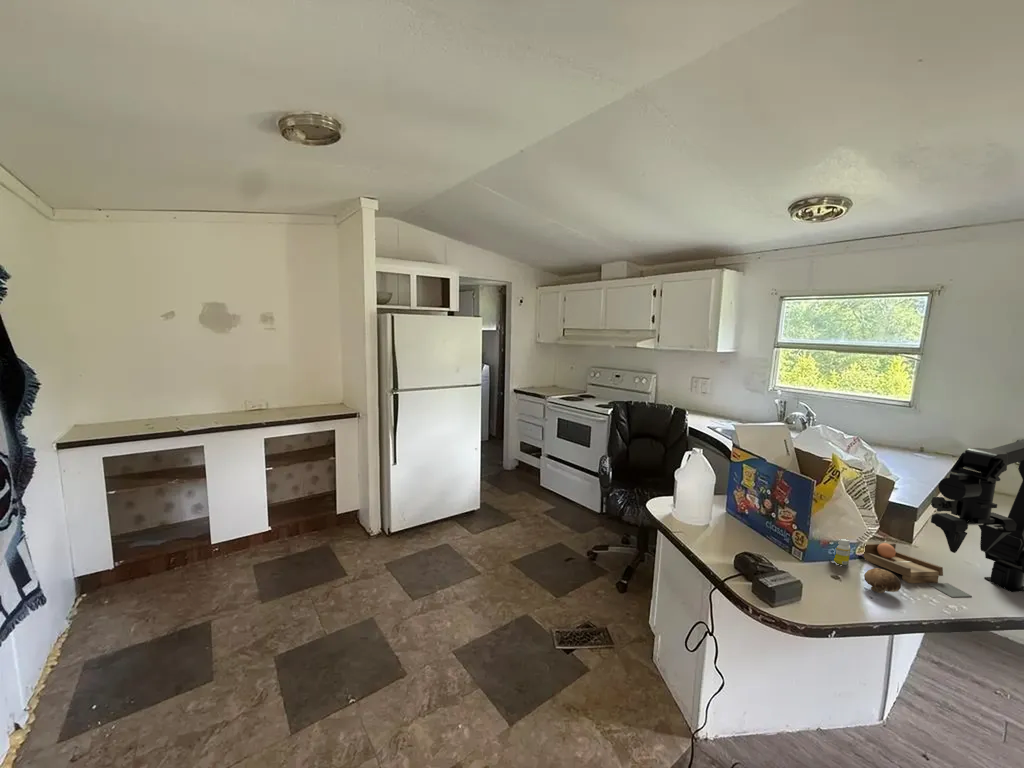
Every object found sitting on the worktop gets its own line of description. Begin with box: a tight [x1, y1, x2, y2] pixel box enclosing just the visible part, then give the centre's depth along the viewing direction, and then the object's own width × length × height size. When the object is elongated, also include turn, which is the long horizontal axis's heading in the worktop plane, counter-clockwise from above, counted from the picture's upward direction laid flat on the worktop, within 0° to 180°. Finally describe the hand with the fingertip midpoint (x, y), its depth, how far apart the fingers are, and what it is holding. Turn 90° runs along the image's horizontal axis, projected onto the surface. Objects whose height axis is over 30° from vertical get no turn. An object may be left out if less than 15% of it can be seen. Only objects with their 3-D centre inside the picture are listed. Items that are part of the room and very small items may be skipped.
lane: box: [864, 541, 944, 584], centre depth 129 cm, size 11×16×5 cm
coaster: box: [927, 582, 973, 598], centre depth 118 cm, size 6×6×1 cm
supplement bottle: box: [834, 539, 851, 567], centre depth 131 cm, size 5×5×8 cm
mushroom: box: [863, 567, 902, 594], centre depth 116 cm, size 8×8×6 cm
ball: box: [877, 543, 897, 558], centre depth 133 cm, size 4×4×4 cm
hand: (968, 551), depth 116 cm, fingers open, 9 cm apart
